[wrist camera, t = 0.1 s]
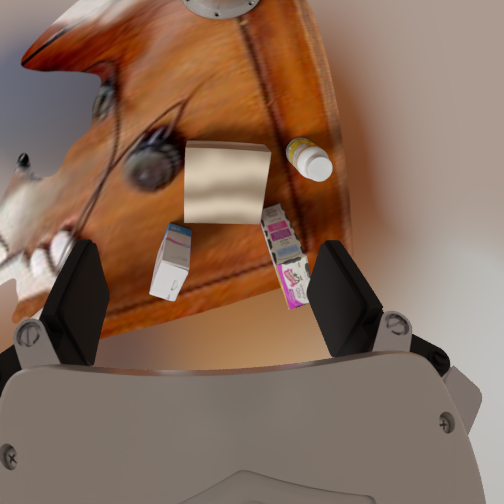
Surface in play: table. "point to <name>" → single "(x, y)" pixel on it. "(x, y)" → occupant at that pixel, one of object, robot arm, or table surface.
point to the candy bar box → (286, 255)
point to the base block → (225, 182)
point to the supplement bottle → (309, 159)
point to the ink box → (172, 263)
